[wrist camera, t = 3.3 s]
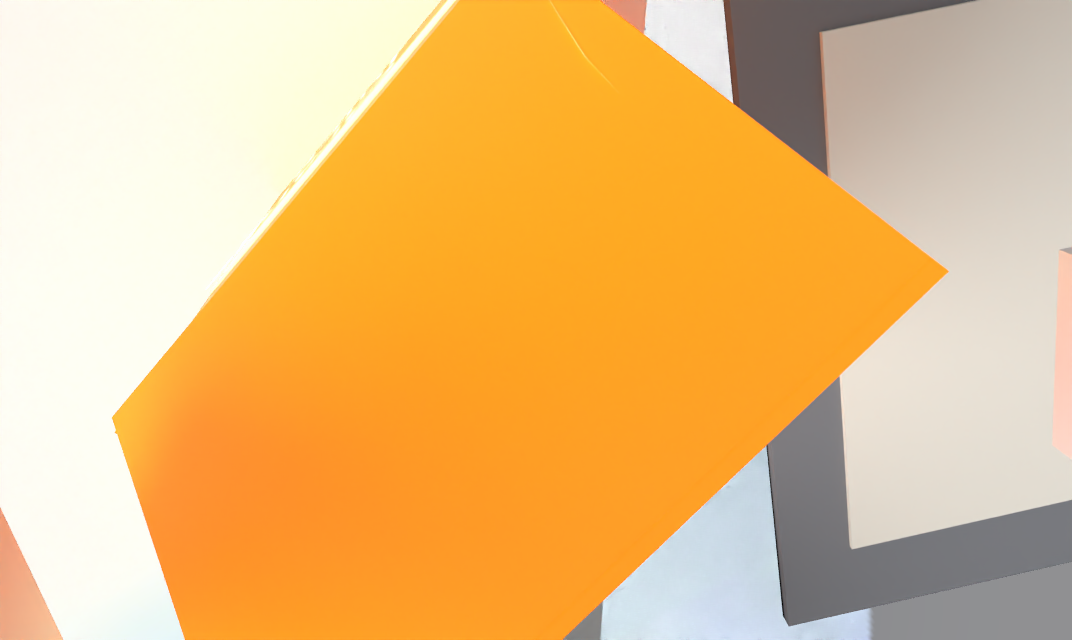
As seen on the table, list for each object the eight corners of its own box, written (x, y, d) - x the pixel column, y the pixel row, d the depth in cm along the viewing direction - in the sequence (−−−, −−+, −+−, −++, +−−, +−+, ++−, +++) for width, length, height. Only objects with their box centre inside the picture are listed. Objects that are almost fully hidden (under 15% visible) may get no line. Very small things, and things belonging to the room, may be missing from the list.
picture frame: (717, -63, 25) (726, -64, 24) (1328, -184, 25) (1355, -189, 25) (782, 615, 34) (790, 629, 33) (1233, 513, 34) (1251, 524, 34)
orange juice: (666, 144, 27) (1203, 522, 8) (473, 352, 28) (553, 1056, 10) (469, -47, 24) (597, -128, 6) (271, 194, 26) (-132, 738, 7)
